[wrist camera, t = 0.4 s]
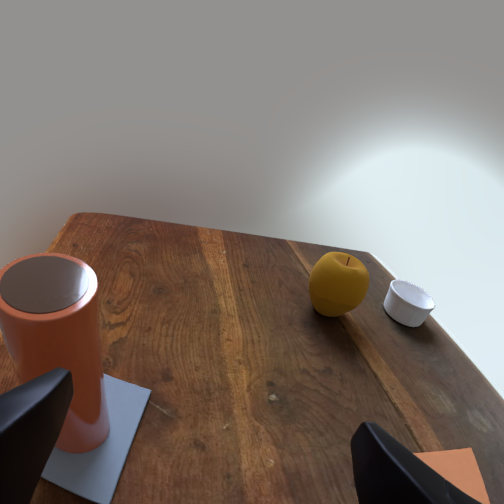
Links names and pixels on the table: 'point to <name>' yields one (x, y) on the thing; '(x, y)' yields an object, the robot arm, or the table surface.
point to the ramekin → (408, 303)
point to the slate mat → (102, 447)
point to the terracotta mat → (458, 470)
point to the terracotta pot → (58, 337)
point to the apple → (337, 284)
